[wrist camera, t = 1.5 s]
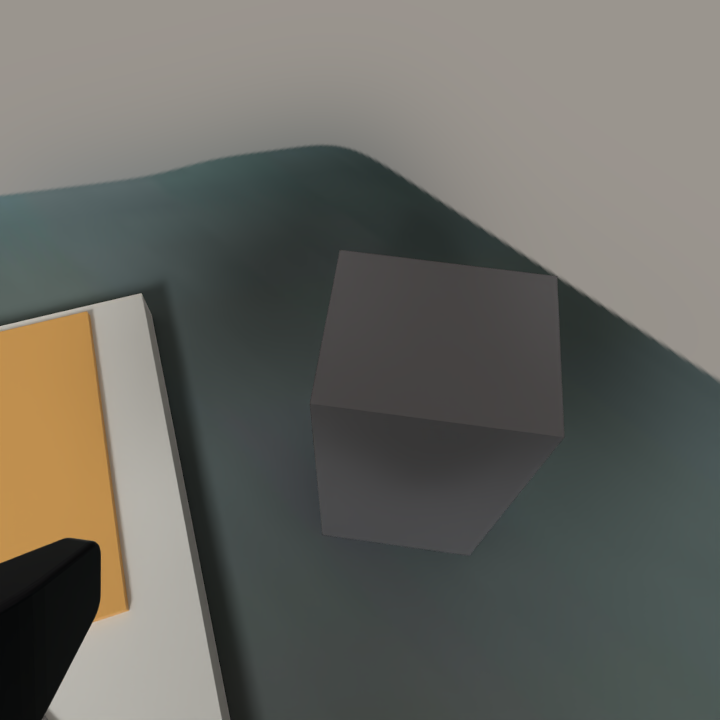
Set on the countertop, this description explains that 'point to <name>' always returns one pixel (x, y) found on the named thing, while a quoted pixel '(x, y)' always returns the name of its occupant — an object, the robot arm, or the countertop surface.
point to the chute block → (432, 398)
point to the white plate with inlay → (109, 508)
